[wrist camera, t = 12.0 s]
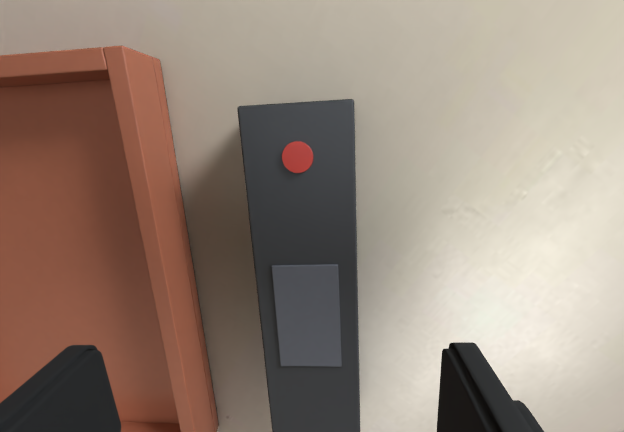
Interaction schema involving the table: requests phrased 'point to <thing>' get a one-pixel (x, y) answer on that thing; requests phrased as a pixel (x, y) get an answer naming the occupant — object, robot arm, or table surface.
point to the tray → (99, 234)
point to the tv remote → (305, 259)
